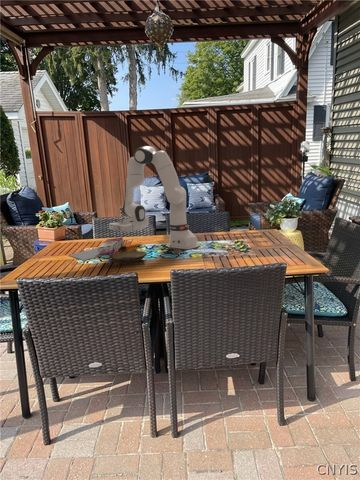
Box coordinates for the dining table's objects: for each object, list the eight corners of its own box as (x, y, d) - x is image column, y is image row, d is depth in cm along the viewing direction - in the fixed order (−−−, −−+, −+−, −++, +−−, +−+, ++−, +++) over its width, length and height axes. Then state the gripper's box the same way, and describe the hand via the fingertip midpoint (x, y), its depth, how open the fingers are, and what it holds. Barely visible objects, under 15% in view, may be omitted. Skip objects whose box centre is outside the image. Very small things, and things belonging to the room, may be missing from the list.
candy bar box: (109, 246, 246) (98, 254, 231) (107, 239, 245) (96, 247, 230) (124, 244, 243) (114, 253, 228) (122, 237, 241) (112, 245, 226)
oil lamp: (103, 269, 200) (102, 256, 199) (116, 255, 230) (114, 243, 228) (143, 268, 199) (142, 254, 197) (151, 253, 228) (150, 241, 226)
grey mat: (117, 252, 235) (117, 250, 235) (83, 260, 220) (83, 258, 219) (101, 247, 250) (101, 245, 250) (68, 255, 234) (68, 253, 234)
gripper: (118, 219, 257) (101, 222, 248) (135, 222, 242) (118, 225, 233) (119, 228, 259) (102, 231, 250) (136, 231, 244) (119, 235, 235)
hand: (110, 228), depth 241 cm, fingers closed
